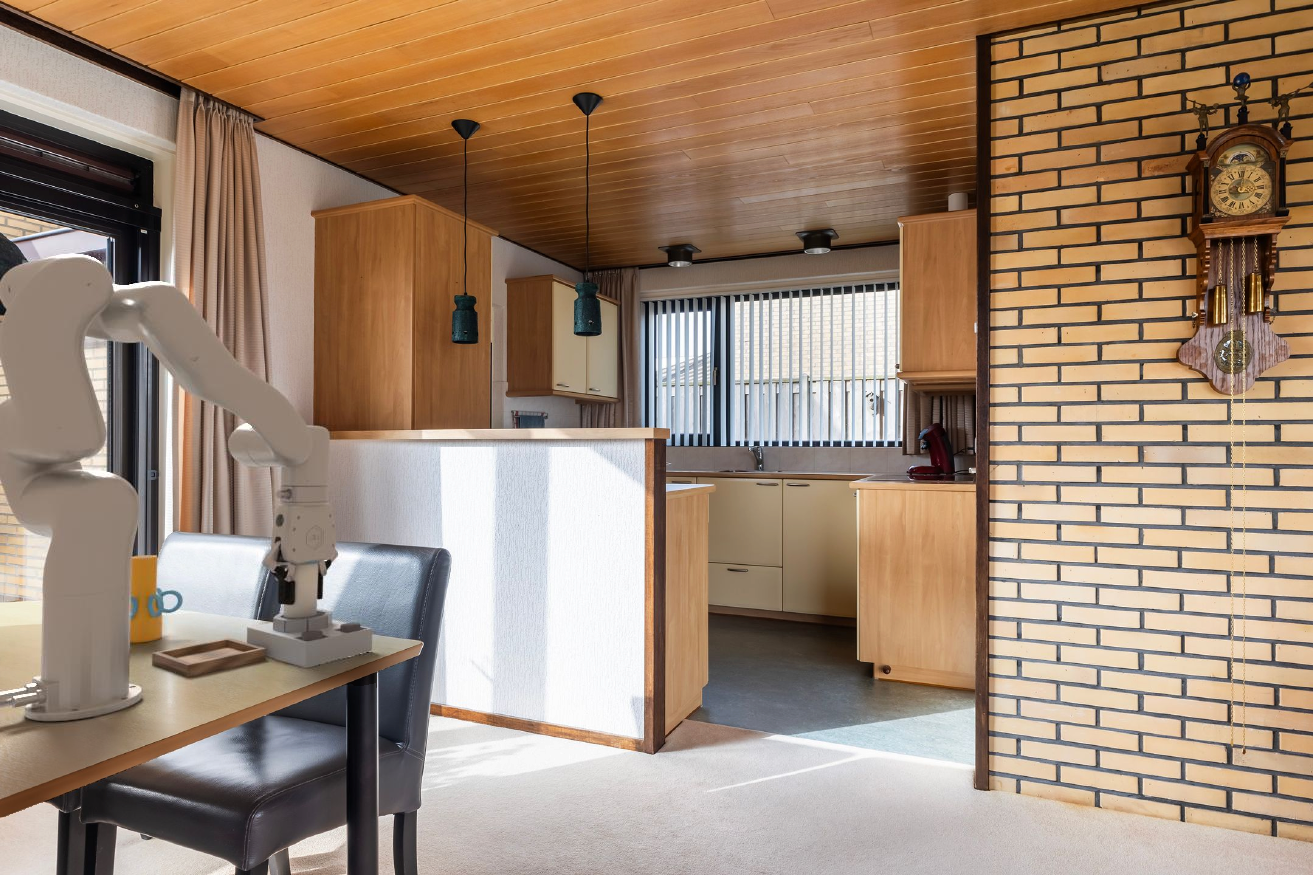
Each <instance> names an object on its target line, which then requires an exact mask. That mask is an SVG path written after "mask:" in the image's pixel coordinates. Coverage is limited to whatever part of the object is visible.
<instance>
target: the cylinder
mask: <svg viewBox="0 0 1313 875" xmlns="http://www.w3.org/2000/svg"><path fill="white" fill-rule="evenodd" d="M157 578H158V555H156V554H155V555H152V554H151V555H149V554H148V555H146V554H145V555H135V556H132V567H131V613H130V644H138V643H139V644H140V643H147V642H153V641H157V640H159V639H161V638H162V637H163V613H165V614H172V613H175V612H176V611H178V610H179V609H180V608H181V607H182V606H183V603H184V602H183V601H184V599H183V595H182V594H181V593H180V592H179V591H177V590H175V589H167V590H166V589H165V590H164V591H163V590H162V589H161V588H160V587H158V585H157V583H158V581H157V580H158V579H157ZM167 595H173V596H175V597H176V599H177V603H176V605H174V606H173V607H172V608H165V603H164V602H165V601H164V597H165V596H167Z"/></svg>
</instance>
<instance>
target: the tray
mask: <svg viewBox="0 0 1313 875" xmlns="http://www.w3.org/2000/svg"><path fill="white" fill-rule="evenodd" d="M265 660H267V657H266V648H263V647H259V646H256V645H252V644H249V643H247V642H244V641H241V640H237V639H234V638H230V637H228V638H222V639H217V640H212V641H207V642H201V643H197V644H192V645H191V644H190V645H185V646H181V647H176V648H170V649H165V650H160V651H155V652H152V653H151V664H152V665H153V664H154V665H153V666H156V667H158V668H161V667H162V669H164V670H166V671H169V670H170V672H172V673H175V672H176V673H175V674H178V673H179V674H178V675H180V674H181V675H182V676H183V675H184V677H186V676H190V677H193V675H194V676H199V675H203V674H206V673H211V672H216V671H220V670H224V669H228V667H230V668H234V667H238V666H242V664H243V665H246V664H247V665H248V664H251V663H256V661H257V662H262V661H265ZM202 673H203V674H202Z"/></svg>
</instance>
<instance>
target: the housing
mask: <svg viewBox="0 0 1313 875" xmlns="http://www.w3.org/2000/svg"><path fill="white" fill-rule="evenodd" d="M283 614H284V612H280V613H278V614H276V615H275V616H274V617H272V622H269V623H263V624H257V625H253V626H248V627H246V628H247V629H246V643H249V644H252V645H256V646H259V647H263V648H266V656H267V657H266V658H270V659H273V658H274V659H273V660H277V661H280V662H283V663H284V662H285V663H287V664H290V665H294V666H298V667H300V668H304V669H307V668H313V667H316V666H319V664H320V665H324V664H327V663H326V662H328V663H330V662H329V661H333V662H335V661H334V660H336V659H341V660H343V659H342V658H345V659H347V658H346V657H348V656H353V655H357V656H359V655H358V654H360V653H364V652H369V651H371V650H372V651H373V628H372V627H367V626H362V625H361V628H360V630H359V631H354V632H350V633H344V632H340V625H342V624H345V623H347V622H346V621H341V620H336V619H333V611H332V610H331V611H330V610H326V609H320V608H317V614H316V615H314V616H309V617H301V618H289V617H284V616H283ZM306 631H322V632H323V638H322V639H317V640H313V641H308V642H307V641H303V640H301V633H303V632H306ZM369 653H370V652H369ZM353 657H354V656H353Z"/></svg>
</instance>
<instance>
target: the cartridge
mask: <svg viewBox="0 0 1313 875" xmlns="http://www.w3.org/2000/svg"><path fill="white" fill-rule="evenodd" d="M285 562H288V561H285ZM319 562H320V561H318V560H313V561H309V562H307V563H301V564H296V567H295V571H294V574H293V578H292V580H291V581H295V603H294V604H293V605H285V604H283V613H284V614H283V616H284V617H289V618H301V617H309V616H314V615H316V614H317V609H318V599H317V589H318V563H319ZM287 567H288V566H286V569H285V571H286V570H287Z"/></svg>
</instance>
